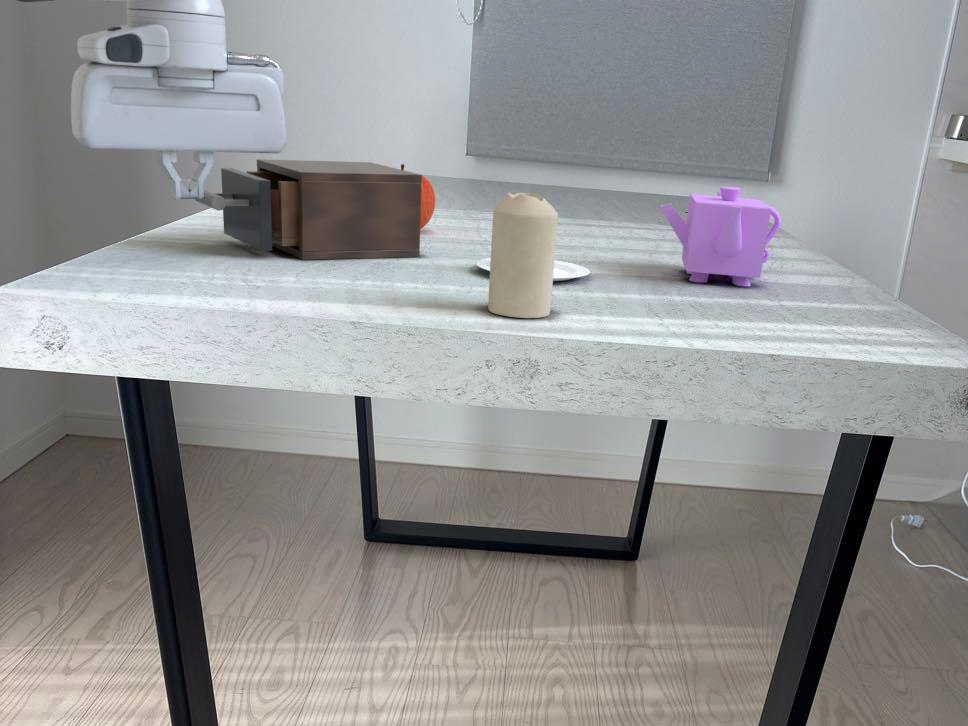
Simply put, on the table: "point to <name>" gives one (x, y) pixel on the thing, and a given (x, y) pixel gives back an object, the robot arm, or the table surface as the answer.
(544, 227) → the candle
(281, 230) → the drawer
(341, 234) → the cabinet
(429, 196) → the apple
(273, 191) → the block
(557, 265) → the white saucer
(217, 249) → the table surface
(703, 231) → the teapot
